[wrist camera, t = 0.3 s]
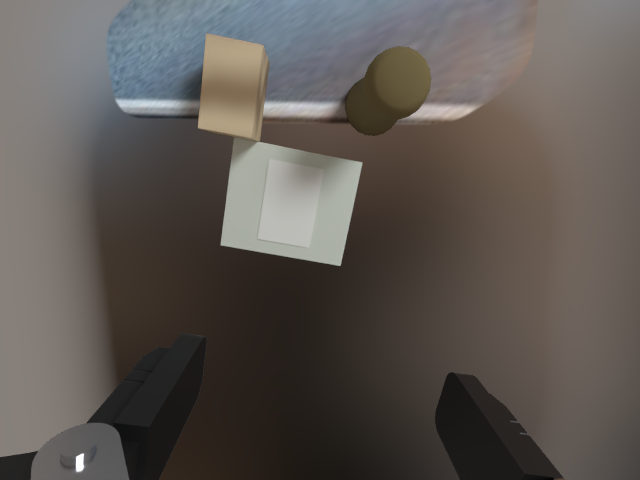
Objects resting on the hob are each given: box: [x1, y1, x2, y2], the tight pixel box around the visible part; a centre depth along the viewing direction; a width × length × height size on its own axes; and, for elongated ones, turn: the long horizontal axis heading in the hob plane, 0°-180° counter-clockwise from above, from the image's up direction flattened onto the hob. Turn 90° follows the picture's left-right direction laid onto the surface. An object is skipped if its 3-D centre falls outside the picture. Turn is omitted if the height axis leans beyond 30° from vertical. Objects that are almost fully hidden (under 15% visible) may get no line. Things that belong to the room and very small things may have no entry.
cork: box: [345, 46, 431, 136], centre depth 29 cm, size 6×6×11 cm
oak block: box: [198, 33, 270, 142], centre depth 31 cm, size 8×5×5 cm, turn 170°
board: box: [221, 137, 362, 266], centre depth 36 cm, size 12×14×1 cm
